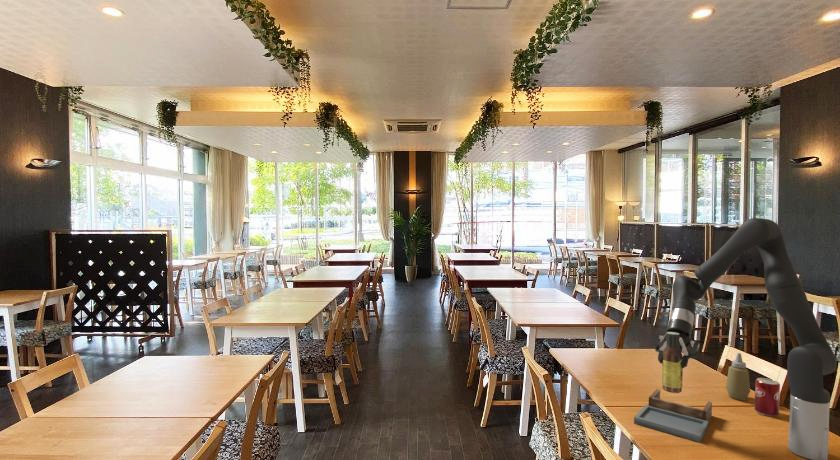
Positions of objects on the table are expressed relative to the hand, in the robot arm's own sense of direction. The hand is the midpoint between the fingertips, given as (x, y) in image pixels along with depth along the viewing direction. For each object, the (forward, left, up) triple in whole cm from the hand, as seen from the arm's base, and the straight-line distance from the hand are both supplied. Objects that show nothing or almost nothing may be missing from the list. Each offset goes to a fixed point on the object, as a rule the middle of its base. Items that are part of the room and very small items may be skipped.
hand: (671, 364), depth 156 cm
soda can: (-24, -38, -22) cm, 50 cm away
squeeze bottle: (-14, -48, -22) cm, 54 cm away
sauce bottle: (0, -1, -10) cm, 10 cm away
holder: (0, -16, -22) cm, 27 cm away
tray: (0, -2, -22) cm, 22 cm away
